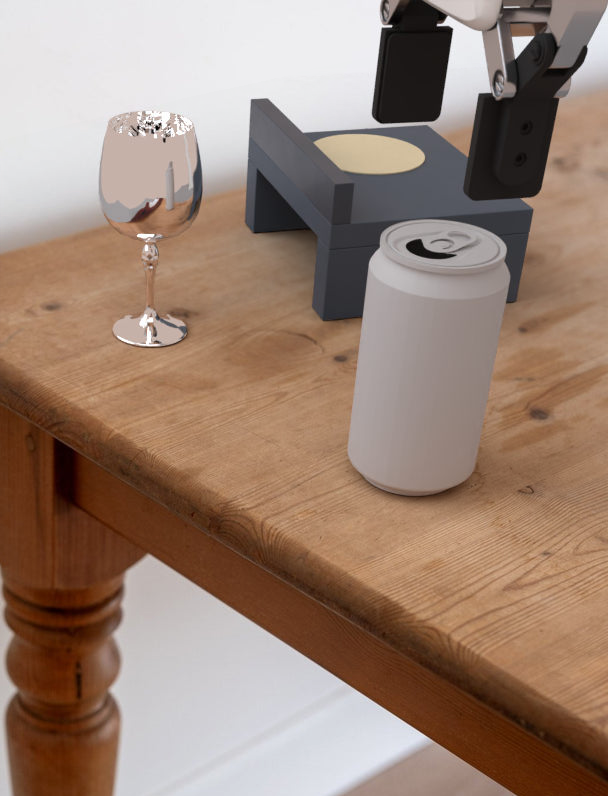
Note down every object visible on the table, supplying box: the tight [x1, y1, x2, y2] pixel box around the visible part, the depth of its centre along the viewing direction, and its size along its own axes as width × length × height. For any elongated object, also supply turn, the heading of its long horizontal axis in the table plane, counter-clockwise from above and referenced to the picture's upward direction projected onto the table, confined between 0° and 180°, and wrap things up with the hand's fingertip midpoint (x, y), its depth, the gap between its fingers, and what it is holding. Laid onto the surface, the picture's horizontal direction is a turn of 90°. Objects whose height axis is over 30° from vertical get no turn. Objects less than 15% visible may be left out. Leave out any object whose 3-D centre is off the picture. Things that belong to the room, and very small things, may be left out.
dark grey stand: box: [244, 97, 535, 321], centre depth 84 cm, size 13×16×8 cm
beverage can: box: [347, 219, 510, 497], centre depth 62 cm, size 6×6×12 cm
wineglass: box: [97, 110, 204, 348], centre depth 73 cm, size 6×6×12 cm
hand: (449, 156), depth 56 cm, fingers open, 9 cm apart
